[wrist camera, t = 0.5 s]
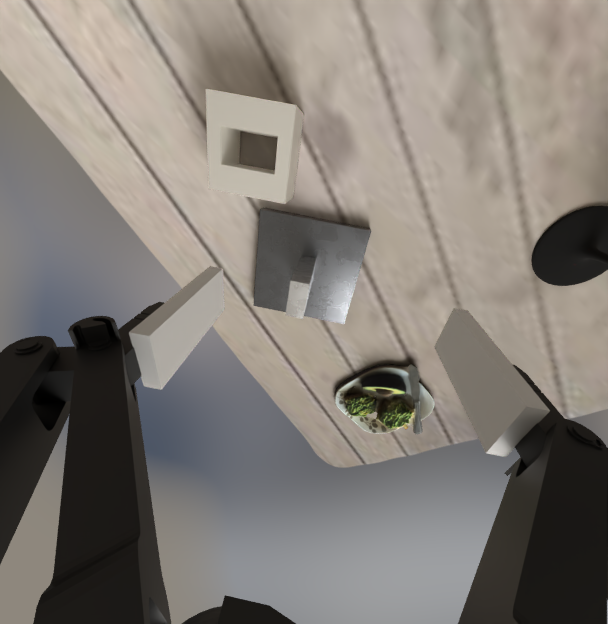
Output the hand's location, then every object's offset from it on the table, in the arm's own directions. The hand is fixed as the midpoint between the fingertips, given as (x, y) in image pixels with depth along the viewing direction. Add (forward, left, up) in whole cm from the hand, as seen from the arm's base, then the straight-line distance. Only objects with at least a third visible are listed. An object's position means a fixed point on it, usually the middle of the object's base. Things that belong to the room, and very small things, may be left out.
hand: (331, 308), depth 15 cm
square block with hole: (-7, -11, -24) cm, 27 cm away
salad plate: (+30, +16, -25) cm, 42 cm away
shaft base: (+7, -3, -24) cm, 25 cm away
